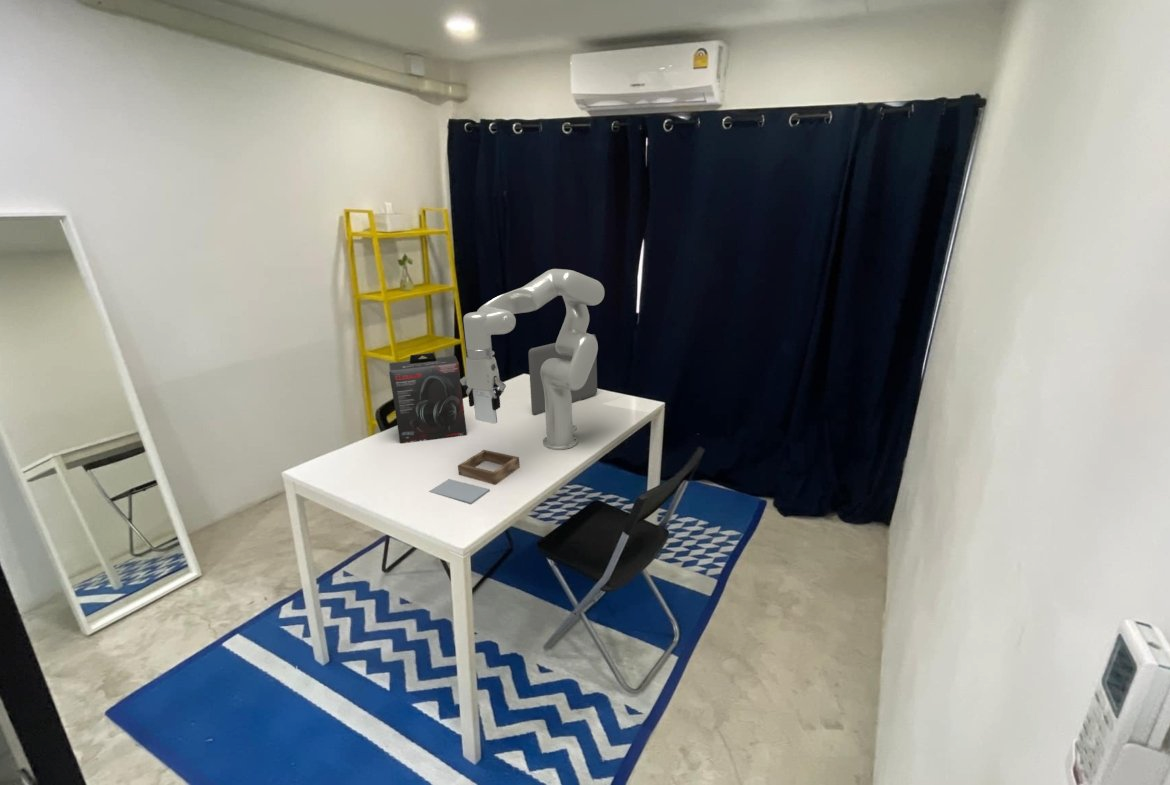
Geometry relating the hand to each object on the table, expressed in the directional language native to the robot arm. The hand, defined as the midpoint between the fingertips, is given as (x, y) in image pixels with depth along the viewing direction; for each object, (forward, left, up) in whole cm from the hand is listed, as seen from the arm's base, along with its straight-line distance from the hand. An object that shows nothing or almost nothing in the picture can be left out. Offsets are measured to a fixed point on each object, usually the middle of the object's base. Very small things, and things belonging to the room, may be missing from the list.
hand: (484, 406), depth 175 cm
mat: (+15, 0, -23) cm, 27 cm away
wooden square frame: (0, 0, -23) cm, 23 cm away
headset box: (-15, -38, -23) cm, 47 cm away
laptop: (-70, -22, -23) cm, 77 cm away
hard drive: (0, 0, -5) cm, 5 cm away
